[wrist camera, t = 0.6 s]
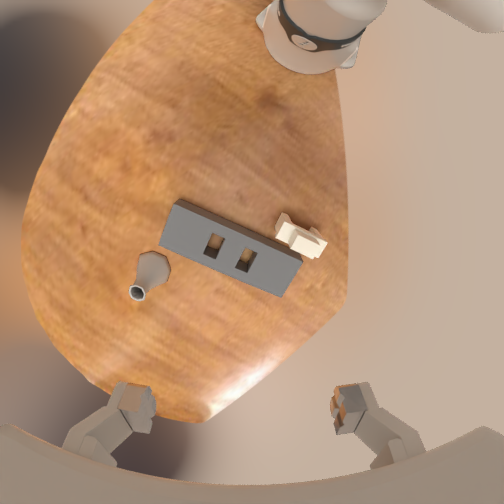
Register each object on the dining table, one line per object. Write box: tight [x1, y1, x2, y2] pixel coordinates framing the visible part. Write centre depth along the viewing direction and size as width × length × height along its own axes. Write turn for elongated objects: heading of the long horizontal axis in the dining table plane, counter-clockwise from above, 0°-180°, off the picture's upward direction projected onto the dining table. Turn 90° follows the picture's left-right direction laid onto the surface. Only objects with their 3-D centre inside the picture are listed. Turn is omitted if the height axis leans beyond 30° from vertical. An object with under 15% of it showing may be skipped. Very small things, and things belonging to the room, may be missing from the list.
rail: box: [159, 199, 303, 297], centre depth 49 cm, size 8×24×4 cm, turn 64°
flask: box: [129, 251, 171, 301], centre depth 48 cm, size 7×7×10 cm
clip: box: [274, 212, 327, 259], centre depth 45 cm, size 3×8×10 cm, turn 64°
